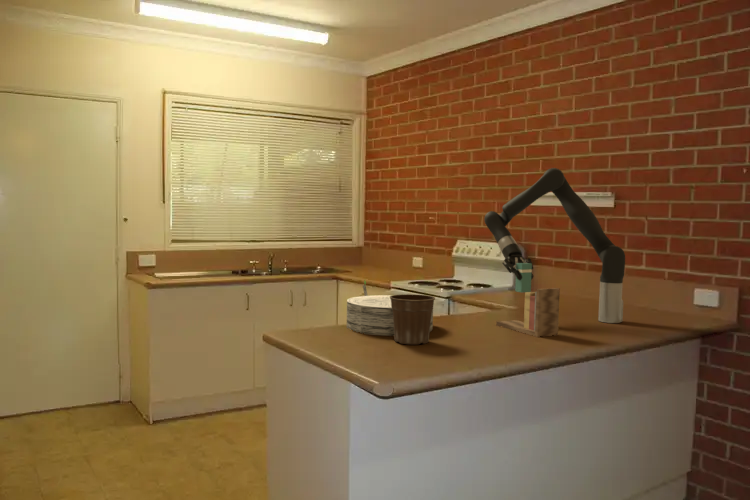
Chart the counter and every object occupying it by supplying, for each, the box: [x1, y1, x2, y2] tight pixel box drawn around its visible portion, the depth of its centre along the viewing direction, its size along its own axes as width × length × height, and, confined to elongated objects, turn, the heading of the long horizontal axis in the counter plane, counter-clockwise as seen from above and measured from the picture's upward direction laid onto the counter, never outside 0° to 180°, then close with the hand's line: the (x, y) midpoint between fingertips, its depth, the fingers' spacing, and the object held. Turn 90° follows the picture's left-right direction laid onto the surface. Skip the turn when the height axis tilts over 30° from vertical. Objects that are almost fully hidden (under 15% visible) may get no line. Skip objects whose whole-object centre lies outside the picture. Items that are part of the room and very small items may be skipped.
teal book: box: [514, 263, 533, 293], centre depth 262 cm, size 5×4×12 cm
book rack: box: [496, 287, 561, 338], centre depth 247 cm, size 10×26×18 cm, turn 26°
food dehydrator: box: [346, 280, 434, 337], centre depth 249 cm, size 38×34×18 cm
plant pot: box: [390, 293, 436, 346], centre depth 221 cm, size 16×16×16 cm
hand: (526, 278), depth 261 cm, fingers closed on teal book, 5 cm apart
